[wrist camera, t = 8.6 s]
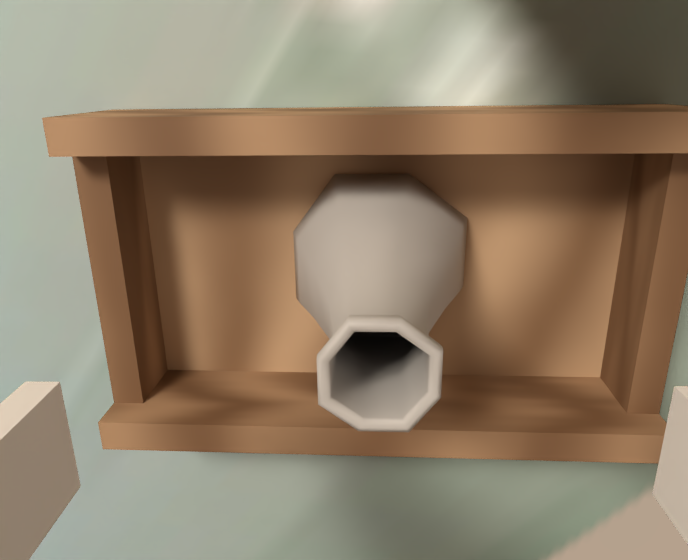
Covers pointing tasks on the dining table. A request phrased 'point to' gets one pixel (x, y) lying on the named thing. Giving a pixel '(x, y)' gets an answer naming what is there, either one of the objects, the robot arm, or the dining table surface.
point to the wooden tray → (456, 320)
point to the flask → (379, 294)
